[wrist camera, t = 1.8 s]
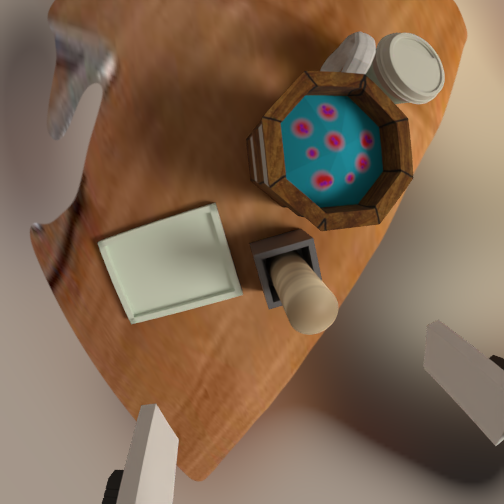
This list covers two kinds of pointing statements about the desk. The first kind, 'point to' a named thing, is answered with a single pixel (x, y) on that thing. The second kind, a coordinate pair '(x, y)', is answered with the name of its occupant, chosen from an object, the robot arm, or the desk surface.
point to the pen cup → (278, 246)
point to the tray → (171, 264)
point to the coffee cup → (407, 69)
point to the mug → (334, 144)
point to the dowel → (302, 293)
